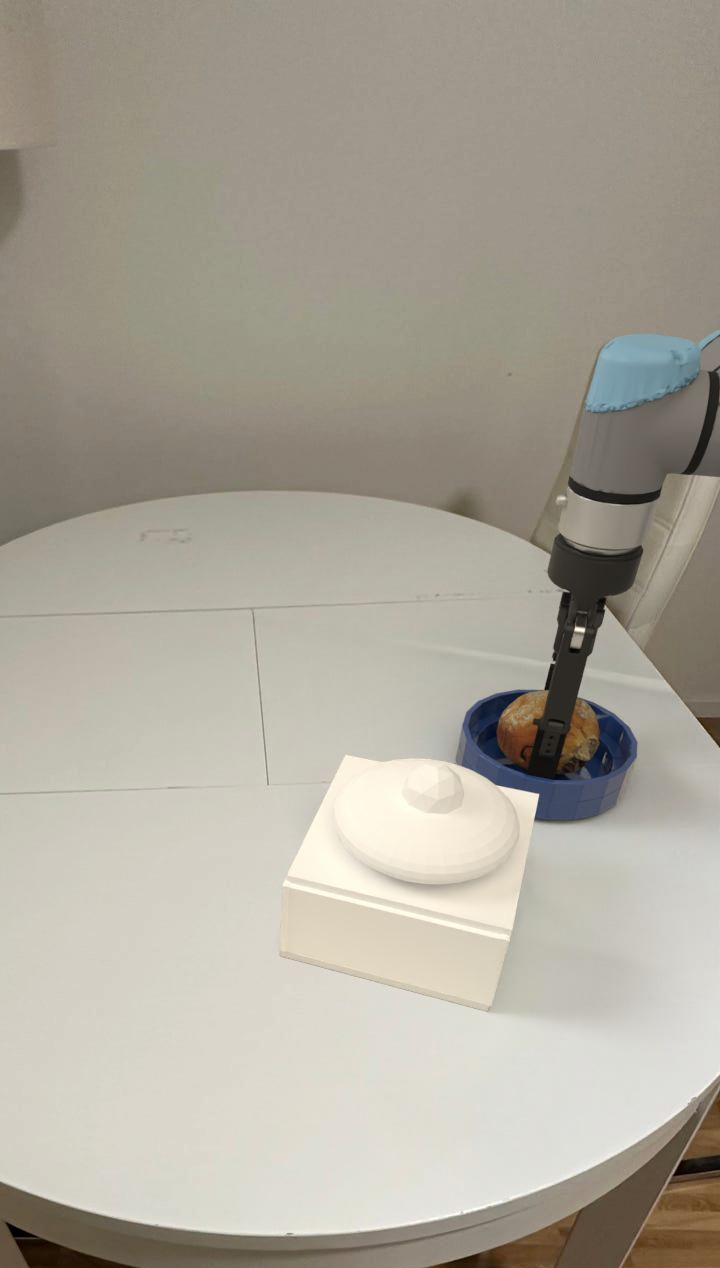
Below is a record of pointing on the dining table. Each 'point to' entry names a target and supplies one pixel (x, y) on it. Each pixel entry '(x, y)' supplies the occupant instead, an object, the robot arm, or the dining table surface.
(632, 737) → the bowl
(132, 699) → the dining table surface
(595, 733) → the bread roll
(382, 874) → the white lidded square jar
